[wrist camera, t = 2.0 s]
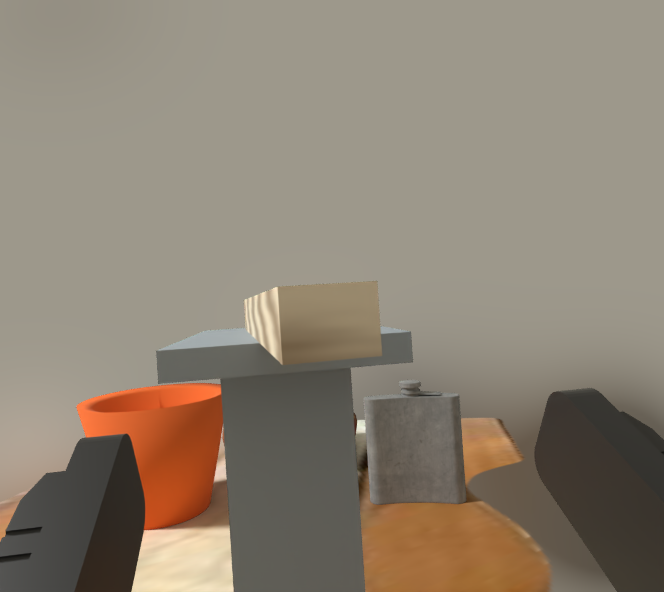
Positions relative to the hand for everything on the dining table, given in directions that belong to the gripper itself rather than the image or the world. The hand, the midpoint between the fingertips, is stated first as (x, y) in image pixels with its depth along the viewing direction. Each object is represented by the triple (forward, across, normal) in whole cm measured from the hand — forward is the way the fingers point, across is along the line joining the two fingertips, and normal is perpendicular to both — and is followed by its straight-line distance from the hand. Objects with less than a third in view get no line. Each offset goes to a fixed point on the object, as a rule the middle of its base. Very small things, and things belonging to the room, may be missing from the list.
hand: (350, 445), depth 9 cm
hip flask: (+48, -22, +62) cm, 81 cm away
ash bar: (+23, 0, +12) cm, 26 cm away
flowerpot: (+56, +21, +66) cm, 89 cm away
